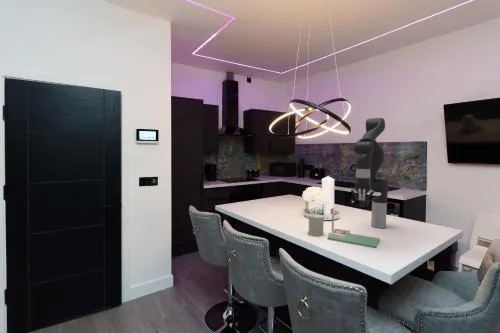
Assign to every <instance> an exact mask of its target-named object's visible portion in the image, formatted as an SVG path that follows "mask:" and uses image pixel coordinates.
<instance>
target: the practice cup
mask: <svg viewBox="0 0 500 333" xmlns="http://www.w3.org/2000/svg"><path fill="white" fill-rule="evenodd" d="M330 215H331V230H330V231H328V232H327V233H328V235H327V238H328V237H331V238H337V239H342V240H345V236H346V235H343V234H337V233H335V230H336V229H342V230H345V231H346V232H345V234H348V235H349V234H351V233H350V231H351V230H350V229H346V228H345V229H344V228H338V227H334V225H335V223H334V220H335V219H334V218H335V207H332V208H331V209H330Z"/></svg>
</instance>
